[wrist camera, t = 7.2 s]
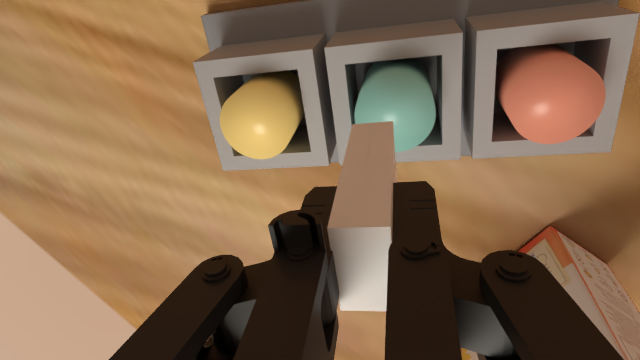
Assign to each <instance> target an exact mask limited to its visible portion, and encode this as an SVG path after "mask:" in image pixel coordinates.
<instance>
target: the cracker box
mask: <svg viewBox="0 0 640 360" xmlns="http://www.w3.org/2000/svg"><path fill="white" fill-rule="evenodd" d="M518 252H523V253H526V254H528V255H530V256H532V257H535V258H536V259H538V260H539V261H540V262H541V263H542V264H544V265H545V267H546V268H547V269H548V270H549V271H550V273H551V274H552V275H553V276H554V277H555V278H556V280H557V281H558V282H559V283H560V284H561V286H562V287H563V288H564V289H565V290H566V291H567V293H568V294H569V295H570V296H571V297H572V299H573V300H574V301H575V302H576V303H577V304H578V306H579V307H580V308H581V309H582V310H583V312H584V313H585V314H586V315H587V316H588V318H589V319H590V320H591V321H592V322H593V323H594V325H595V326H596V327H597V328H598V329H599V331H600V332H601V333H602V334H603V335H604V336H605V338H606V339H607V340H608V341H609V342H610V344H611V345H612V346H613V347H614V348H615V349H616V351H617V352H618V353H619V354H620V355H621V357H622V358H623V359H624V360H640V312H639V311H638V309H637V308H636V306H635V305H634V303H633V302H632V300H631V298H630V297H629V295H628V294H627V292H626V291H625V289H624V288H623V286H622V285H621V284H620V282H619V281H618V279H617V278H616V276H615V275H614V273H613V272H612V270H611V268H610V267H609V266H608V265H607V264H606V263H604V262H603V261H601V260H600V259H598V258H597V257H596V256H594V255H593V254H591V253H590V252H588V251H587V250H585V249H584V248H583V247H581V246H580V245H578V244H577V243H575V242H574V241H572V240H571V239H569V238H568V237H566V236H565V235H564V234H562V233H561V232H559V231H558V230H556V229H555V228H553V227H552V226H549V227H548V228H546V229H545V230H544V231H542V232H541V233H540V234H539V235H538V236H536V237H535V238H534V239H533V240H531V241H530V242H529V243H528V244H527V245H525V246H524V247H523V248H522V249H520V250H519V251H518ZM461 355H462V360H479V359H478V356H477V353H476V352H473V351H470V350H467V349H464V348H461Z"/></svg>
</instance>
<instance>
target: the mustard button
mask: <svg viewBox="0 0 640 360" xmlns="http://www.w3.org/2000/svg"><path fill="white" fill-rule="evenodd" d="M304 115H305V112H304V106H303V100H302V94H301V88H300V82H299V78H298V77H297V76H296V75H295V74H294V73H292V72H291V71H289V70H286V71H276V72H266V73H256V74H255V75H253V76H252V77H251V78H250V79H249V80H248V81H247V82H246V83H245V84H243V85H242V86H241V87H240V88H239V89H238V90H237V91H236V92H235V93H233V94H232V95H231V96H230V97H229V98H228V99H227V100H226V101H225V103H224V105H223V106H222V109H221V113H220V126H221V130H222V133H223V135H224V137H225V139H226V140H227V142H228V143H229V144H230V145H231V146H232V147H233V148H234V149H235V150H236V151H237V152H239V153H240V154H242V155H244V156H247V157H249V158H253V159H268V158H272V157H274V156H276V155H278V154H280V153H281V152H282V151H283V150H284V149H285V148H286V147H287V145H288V143H289V142H290V140H291V138H292V136H293V135H294V133H295V131H296V129H297V127H298V126H299V124H300V122H301V120H302V119H303V117H304Z"/></svg>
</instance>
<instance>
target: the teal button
mask: <svg viewBox="0 0 640 360" xmlns="http://www.w3.org/2000/svg"><path fill="white" fill-rule="evenodd" d="M354 116H355V124H362V123H375V122H388V121H393V128H394V144H395V152H402V151H406V150H409V149H412V148H414V147H416V146H417V145H419V144H420V143H422V142H423V141H424V140H425V139H426V138H427V137H428V135H429V134H430V132H431V130H432V129H433V126H434V123H435V118H436V108H435V103H434V98H433V93H432V88H431V83H430V78H429V75H428V73H427V71H426V69H425V68H424V66H423V65H422V64H421V63H420V62H419V61H417V60H416V59H414V58H405V59H395V60H385V61H376V62H375V63H373V64H372V65H371V66H370V68H369V69H368V70H367V72H366V74H365V76H364V78H363V82H362V85H361V89H360V92H359V96H358V99H357V103H356V107H355V113H354Z"/></svg>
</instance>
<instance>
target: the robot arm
mask: <svg viewBox="0 0 640 360" xmlns="http://www.w3.org/2000/svg"><path fill="white" fill-rule="evenodd" d="M268 227H269V231H270V235H271V239H272V243H273V248H274V252H275V253H274V255H273V258H272V259H270V260H268V261H265V262H262V263H258V264H254V265H250V266H246V267H244V266H243V262H242V261H241V260H240V259H239V258H238V257H235V256H233V255H219V256H215V257H212V258H210V259H207V260H205V261H203V262H202V263H201V264H199V265H198V266H197V267H196V268H195V269H194V270H193V271H192V272H191V273H190V274H189V275H188V276H187V277H186V278H185V279H184V280H183V281H182V283H181V284H180V285H179V286H178V287H177V288H176V289H175V290H174V291H173V292H172V293H171V294H170V295H169V296H168V297H167V298H166V299H165V301H164V302H163V303H162V304H161V305H160V306H159V307H158V308H157V309H156V310H155V311H154V312H153V313H152V314H151V315H150V316H149V318H148V319H147V320H146V321H145V322H144V323H143V324H142V325H141V326H140V327H139V328H138V329H137V330H136V331H135V332H134V333H133V335H132V336H131V337H130V338H129V339H128V340H127V341H126V342H125V343H124V344H123V345H122V346H121V347H120V349H118V350H117V352H116V353H115V354H114V355H113V356H112V357H111V358H110V359H109V360H334V354H335V348H336V341H337V334H338V327H339V325H338V317H337V305H338V299H339V303H340V309H341V310H346V311H386V337H385V360H462V355H461V348H464V349H467V350H470V351H473V352H476V353H477V356H478V359H479V360H624V359H623V358H622V357H621V355H620V354H619V353H618V352H617V351H616V349H615V348H614V347H613V346H612V345H611V344H610V342H609V341H608V340H607V339H606V338H605V336H604V335H603V334H602V333H601V332H600V331H599V329H598V328H597V327H596V326H595V325H594V323H593V322H592V321H591V320H590V319H589V318H588V316H587V315H586V314H585V313H584V312H583V310H582V309H581V308H580V307H579V306H578V304H577V303H576V302H575V301H574V300H573V299H572V297H571V296H570V295H569V294H568V293H567V291H566V290H565V289H564V288H563V287H562V286H561V284H560V283H559V282H558V281H557V280H556V278H555V277H554V276H553V275H552V274H551V273H550V271H549V270H548V269H547V268H546V267H545V265H544V264H542V263H541V262H540V261H539V260H538V259H536V258H535V257H532V256H530V255H528V254H526V253H523V252H517V251H512V250H507V251H497V252H494V253H491V254H489V255H487V256H486V257H485V258H484V259H482V262H481V263H480V262H475V261H470V260H467V259H463V258H460V257H458V256H456V255H454V254H452V253H451V252H450V251H448V250H447V249H446V247H445V246H444V245H443V242H442V239H441V232H440V225H439V218H438V211H437V204H436V198H435V191H434V189H433V188H432V187H431V186H430V185H429V184H428V183H427V182H426V181H419V182H397V175H396V159H395V144H394V128H393V121H388V122H375V123H362V124H352V128H351V132H350V136H349V140H348V144H347V149H346V153H345V157H344V161H343V165H342V169H341V173H340V177H339V182H338V186H332V187H314V188H313V189H312V190H311V191H310V192H309V193H308V194H307V195H306V196H305V198H304V201H303V203H302V207H301V209H300V210H295V211H289V212H286V213H283V214H281V215H279V216H277V217H276V218H274V219H273V220H272V221H271V223H270V224H269V225H268ZM210 336H211V337H210ZM209 337H210V338H209ZM207 340H208V341H207ZM206 341H207V342H206Z"/></svg>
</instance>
